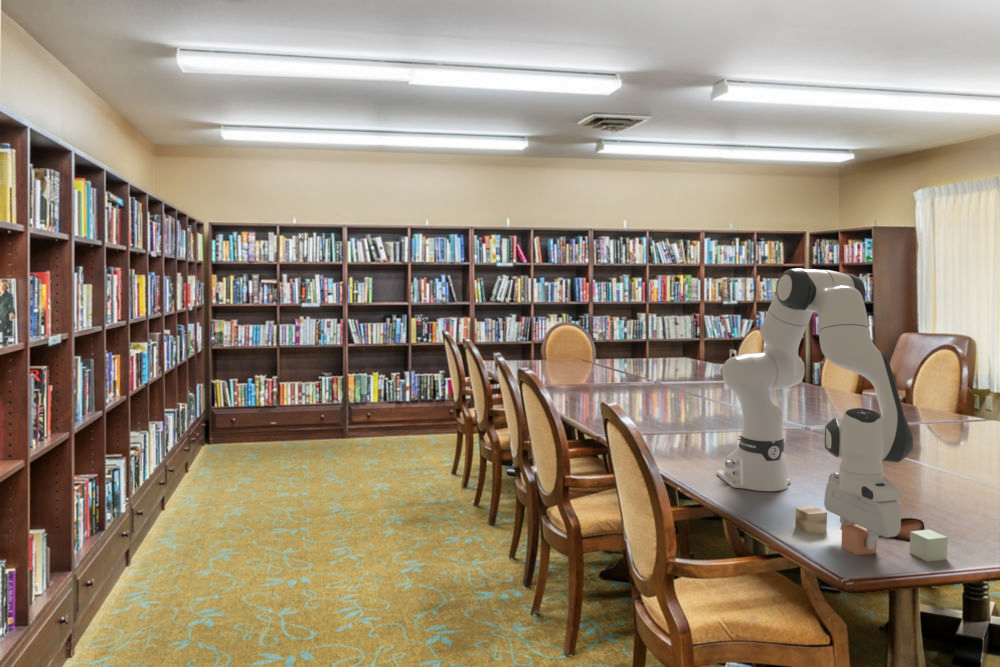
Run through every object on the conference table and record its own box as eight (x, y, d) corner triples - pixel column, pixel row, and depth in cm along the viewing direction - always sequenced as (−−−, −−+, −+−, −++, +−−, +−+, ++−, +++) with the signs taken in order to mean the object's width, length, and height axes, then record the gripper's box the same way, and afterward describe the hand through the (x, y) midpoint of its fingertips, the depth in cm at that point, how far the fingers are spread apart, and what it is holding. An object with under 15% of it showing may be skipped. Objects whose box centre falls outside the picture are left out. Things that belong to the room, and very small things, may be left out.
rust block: (841, 547, 168) (842, 525, 168) (860, 545, 170) (860, 523, 169) (856, 555, 164) (857, 533, 163) (876, 553, 165) (876, 531, 164)
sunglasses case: (837, 529, 179) (840, 502, 182) (840, 536, 185) (843, 510, 187) (923, 543, 170) (924, 514, 172) (923, 550, 175) (925, 522, 178)
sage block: (909, 553, 164) (910, 531, 164) (928, 551, 166) (929, 529, 165) (927, 561, 160) (928, 539, 159) (946, 559, 161) (947, 537, 160)
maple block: (795, 527, 181) (795, 507, 181) (813, 525, 183) (813, 505, 182) (808, 534, 177) (808, 514, 176) (826, 532, 178) (827, 512, 177)
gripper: (818, 471, 175) (816, 528, 176) (882, 496, 155) (879, 561, 156) (841, 469, 176) (839, 525, 177) (907, 494, 156) (905, 557, 157)
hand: (858, 542), depth 166 cm, fingers closed on rust block, 5 cm apart
